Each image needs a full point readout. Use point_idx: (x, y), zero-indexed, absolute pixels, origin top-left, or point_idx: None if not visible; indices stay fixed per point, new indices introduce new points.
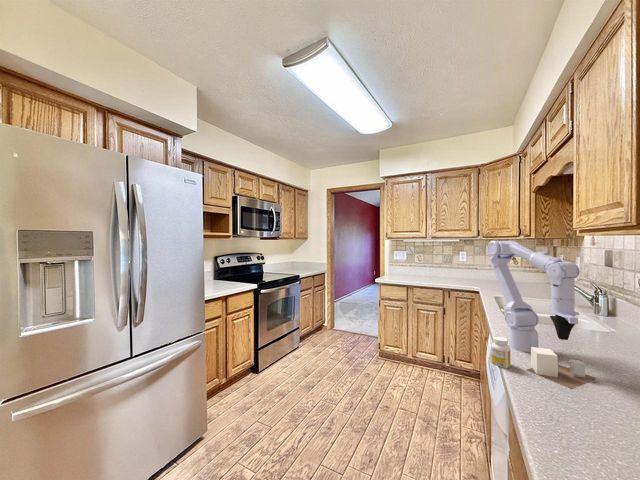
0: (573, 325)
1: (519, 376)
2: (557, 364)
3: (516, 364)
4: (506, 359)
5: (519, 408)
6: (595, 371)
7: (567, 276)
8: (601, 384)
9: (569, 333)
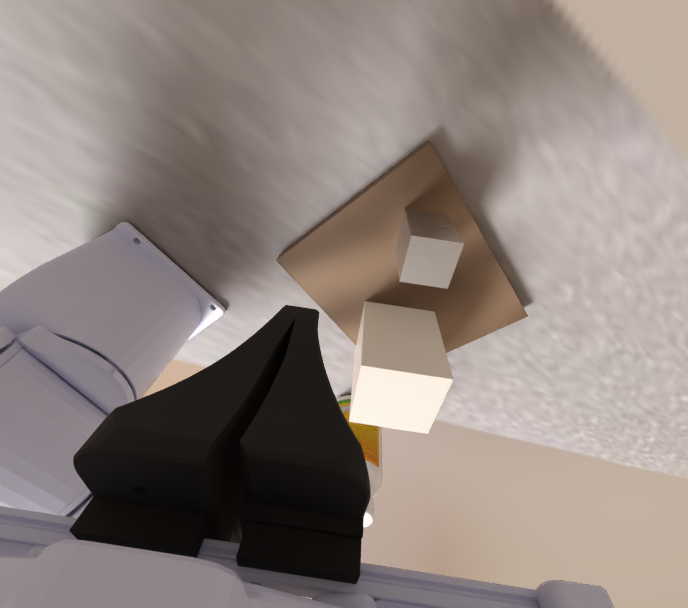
0: (343, 421)
1: None
2: (444, 348)
3: None
4: (380, 442)
5: (582, 452)
6: (299, 54)
7: None
8: (458, 139)
9: (318, 345)
